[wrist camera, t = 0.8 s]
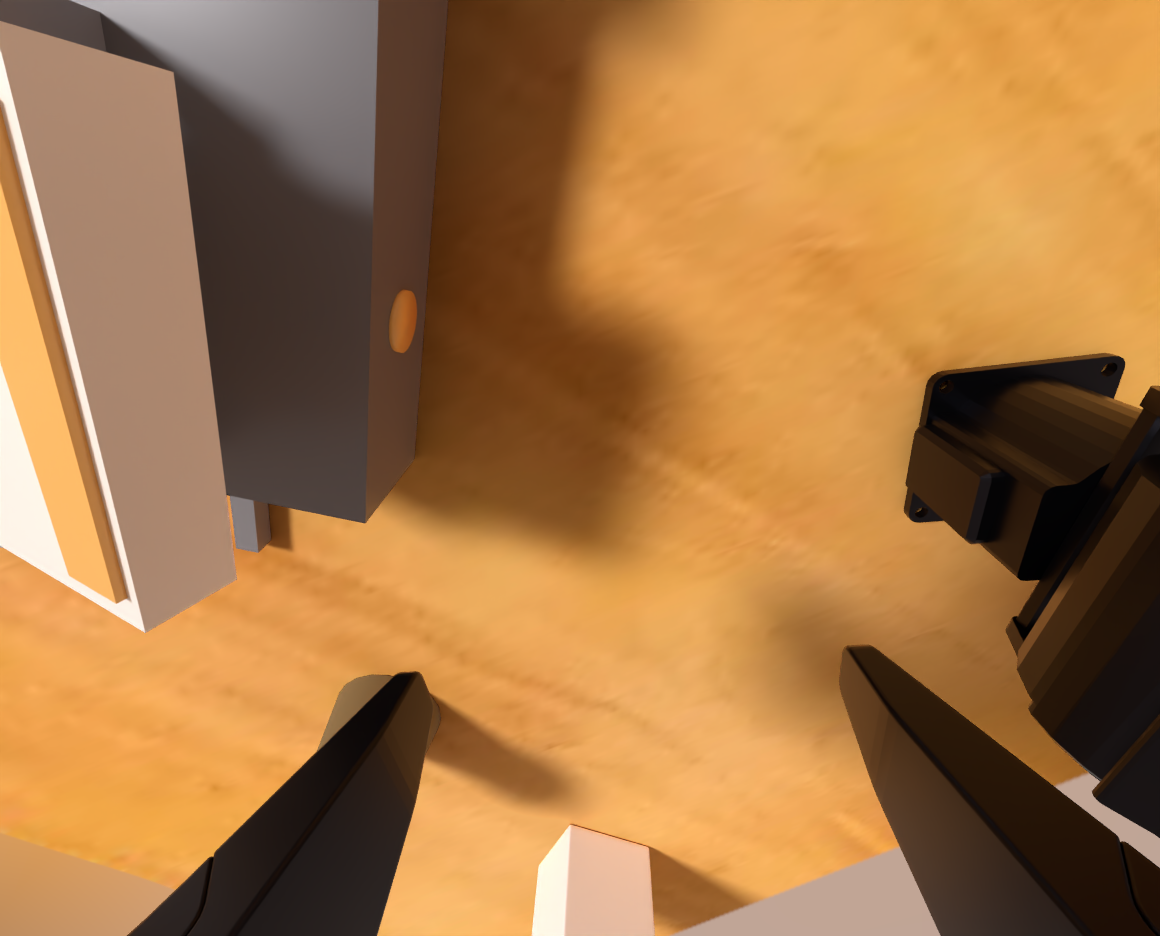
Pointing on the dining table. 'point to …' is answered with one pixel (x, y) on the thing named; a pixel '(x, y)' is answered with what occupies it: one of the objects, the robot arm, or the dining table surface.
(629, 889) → the milk
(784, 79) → the dining table surface
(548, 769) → the dining table surface
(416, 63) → the rocker switch box
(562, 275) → the dining table surface
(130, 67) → the orange striped rocker plate
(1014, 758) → the robot arm
